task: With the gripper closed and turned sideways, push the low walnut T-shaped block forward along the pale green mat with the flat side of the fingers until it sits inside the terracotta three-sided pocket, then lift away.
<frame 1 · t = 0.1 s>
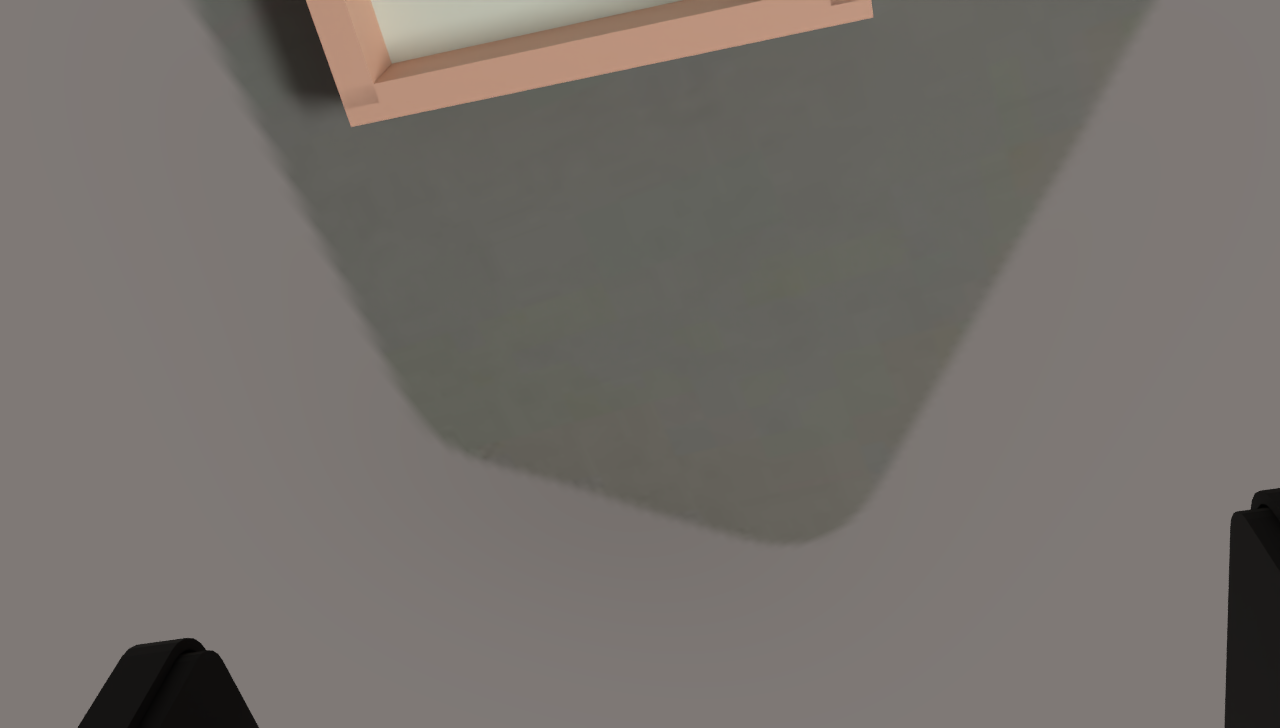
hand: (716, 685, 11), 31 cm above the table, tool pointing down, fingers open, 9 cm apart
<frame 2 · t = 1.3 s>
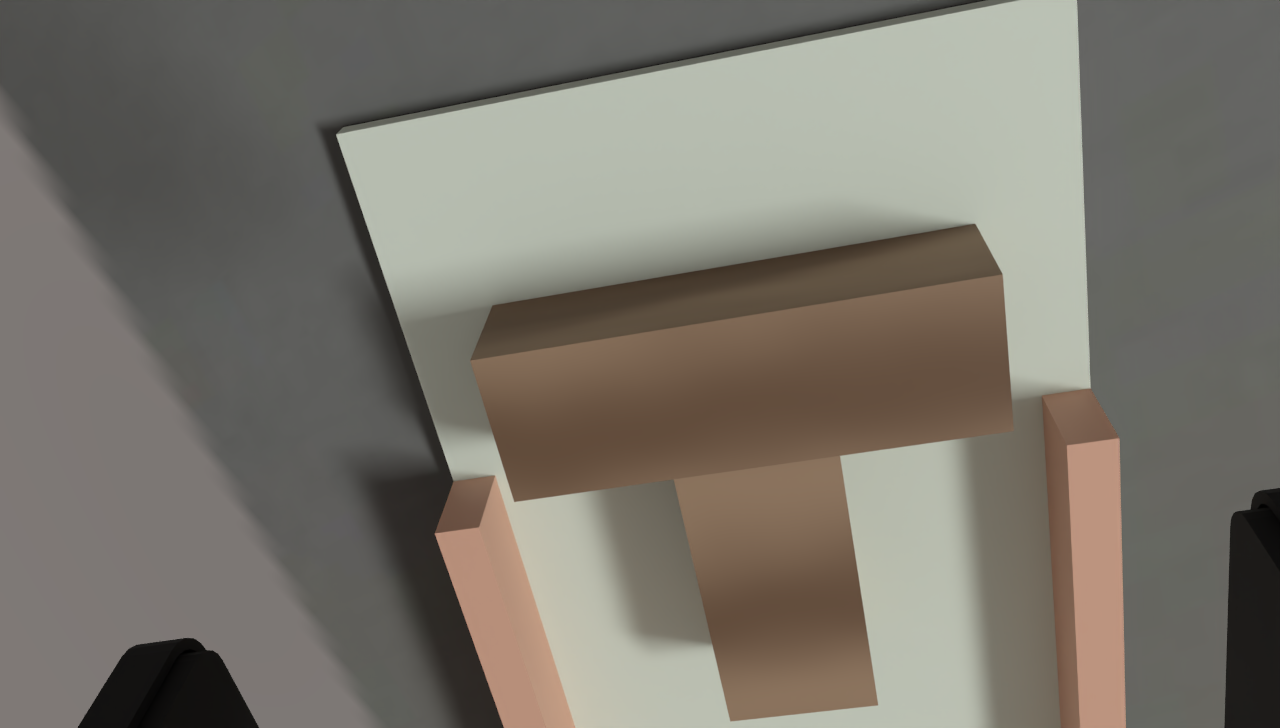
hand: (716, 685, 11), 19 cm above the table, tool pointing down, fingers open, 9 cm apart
pocket: (814, 722, 36), resting on mat
t block: (739, 337, 29), point 1 cm above the table, touching mat
mat: (780, 543, 33), on the table
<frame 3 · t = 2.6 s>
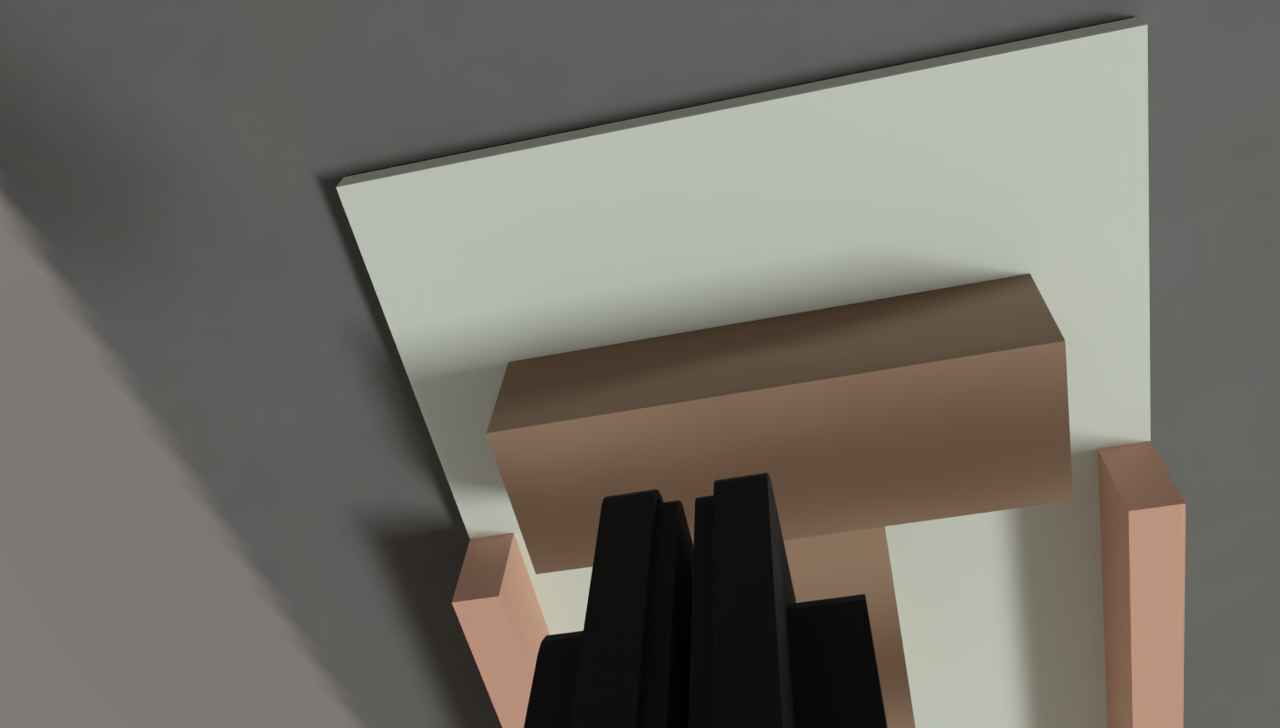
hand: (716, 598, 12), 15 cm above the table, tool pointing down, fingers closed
t block: (773, 392, 27), point 1 cm above the table, touching mat
mat: (815, 596, 31), on the table
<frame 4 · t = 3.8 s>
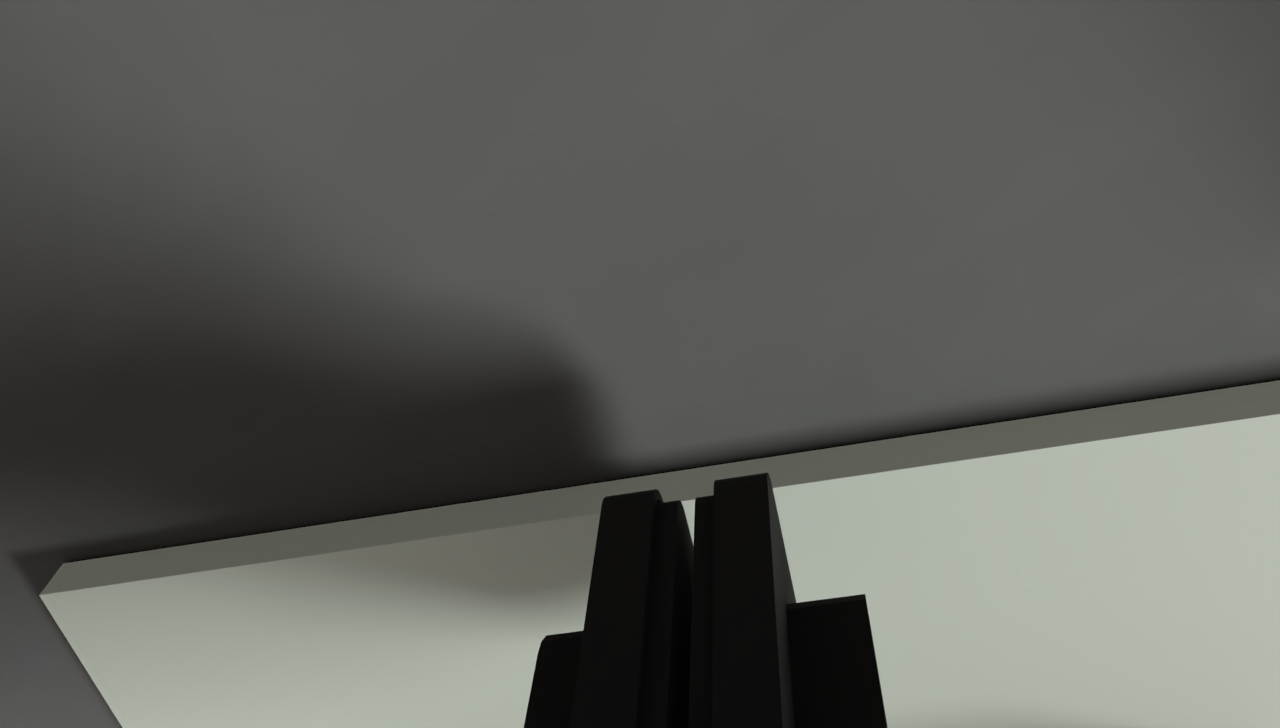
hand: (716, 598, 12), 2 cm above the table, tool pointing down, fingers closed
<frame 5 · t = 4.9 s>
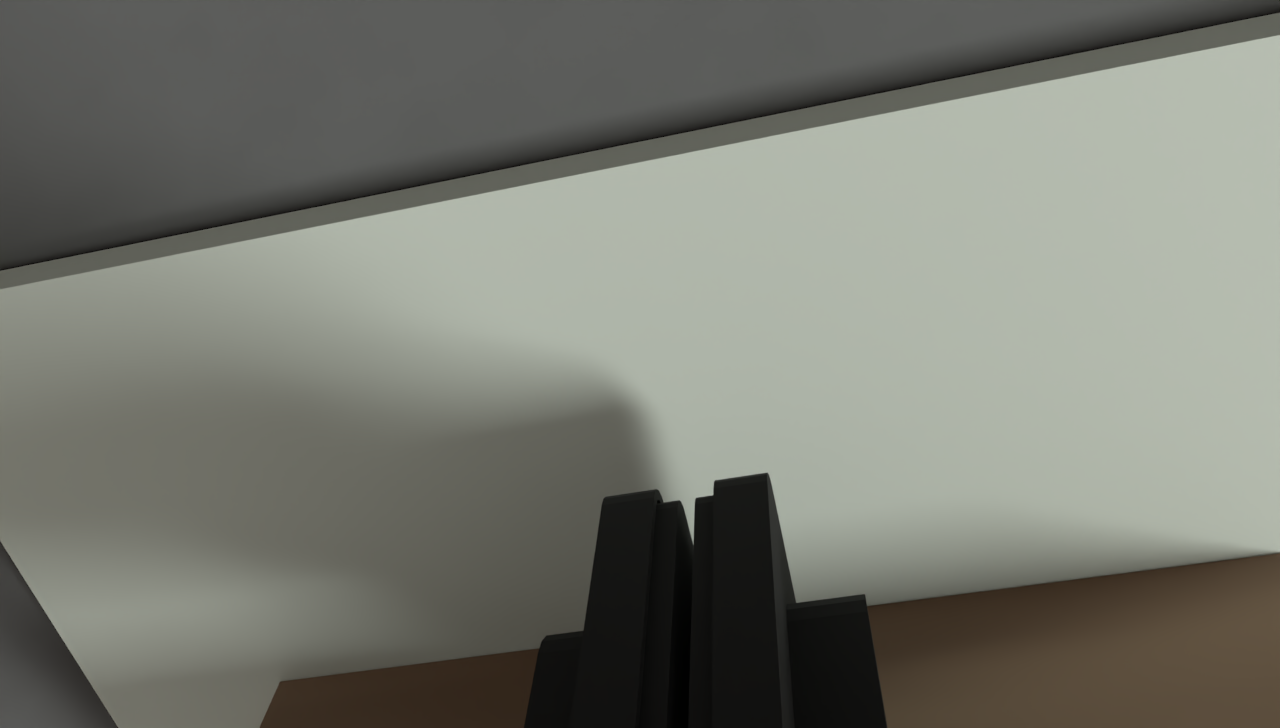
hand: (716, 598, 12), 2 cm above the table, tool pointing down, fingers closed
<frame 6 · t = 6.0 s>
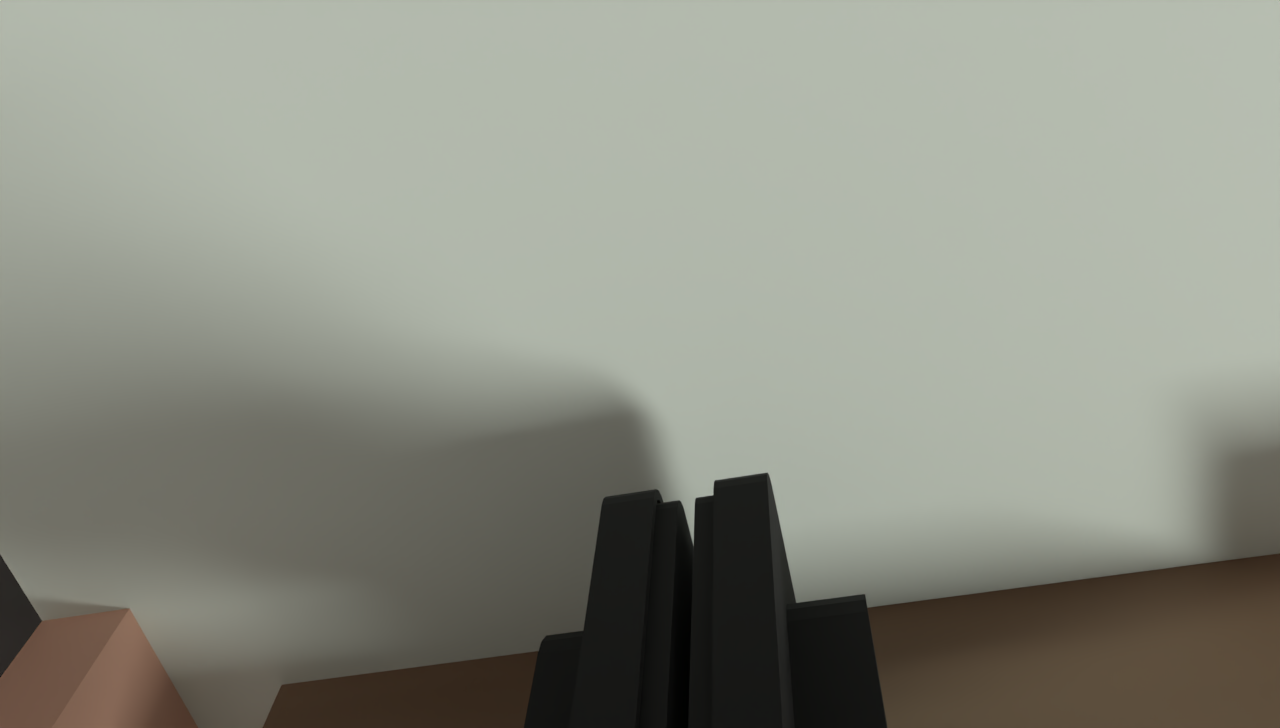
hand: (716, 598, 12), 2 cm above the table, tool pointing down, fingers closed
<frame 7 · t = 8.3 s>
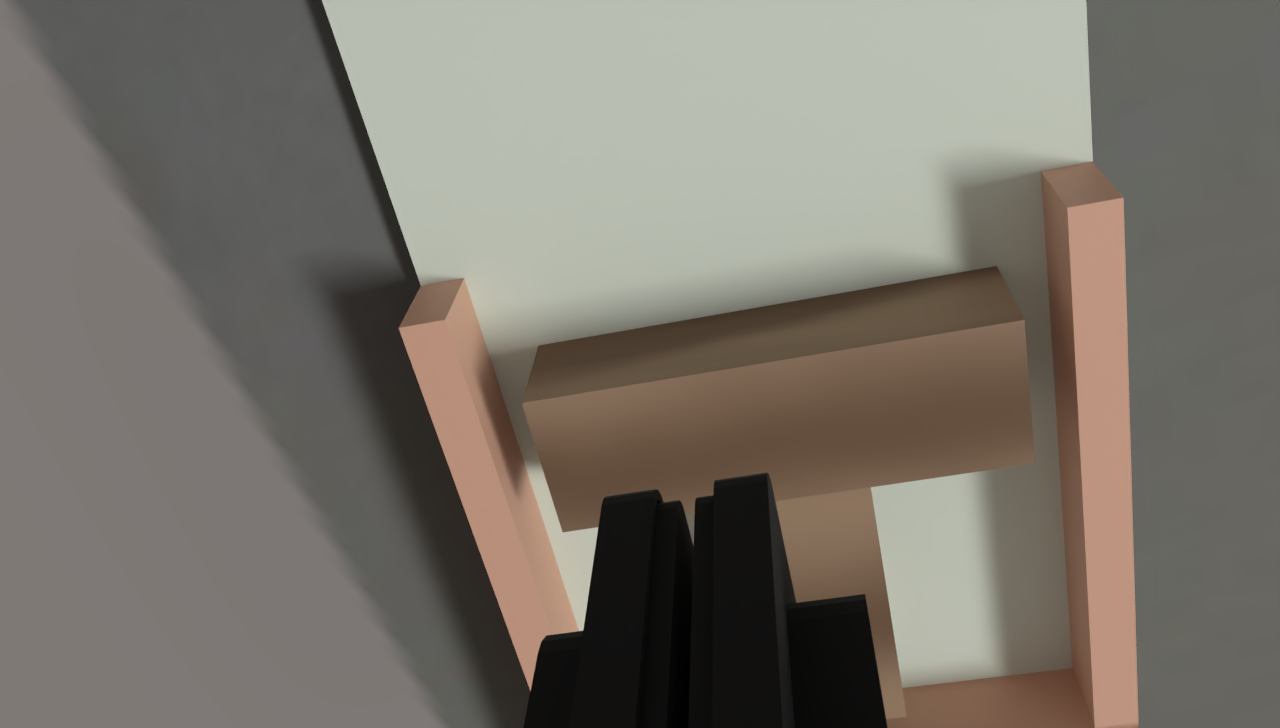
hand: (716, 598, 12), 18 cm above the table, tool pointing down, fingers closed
pocket: (806, 555, 34), resting on mat
t block: (773, 372, 31), point 1 cm above the table, touching mat
mat: (767, 353, 31), on the table
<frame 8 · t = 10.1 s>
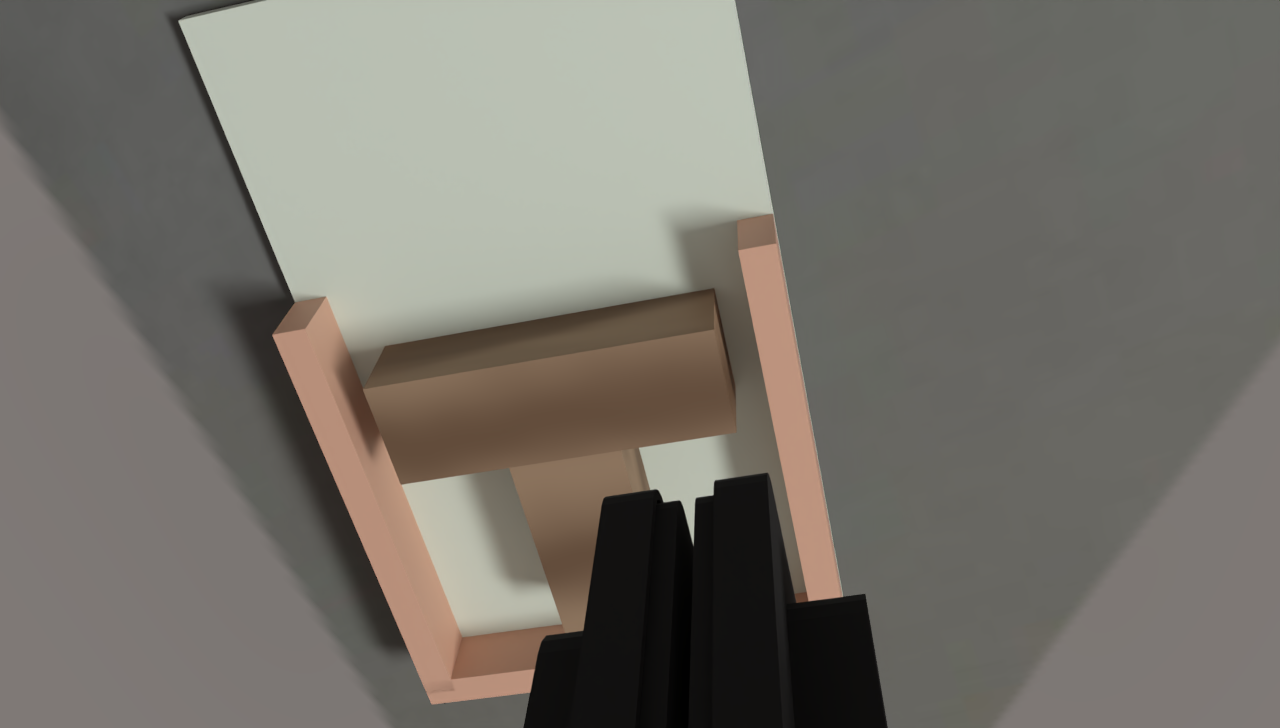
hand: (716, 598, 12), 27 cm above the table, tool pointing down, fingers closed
pocket: (603, 504, 45), resting on mat
t block: (560, 366, 41), point 1 cm above the table, touching mat
mat: (557, 351, 42), on the table
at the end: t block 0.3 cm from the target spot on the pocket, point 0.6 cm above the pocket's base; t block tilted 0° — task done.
